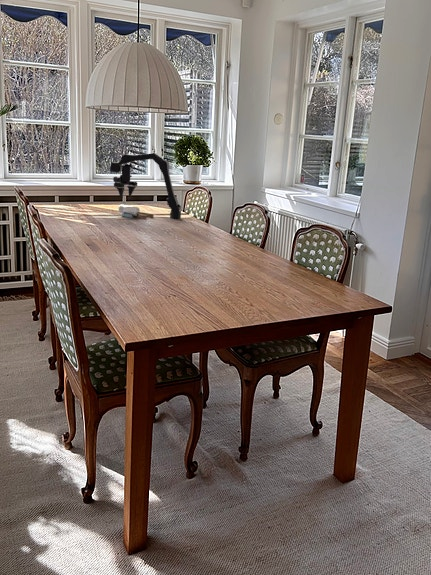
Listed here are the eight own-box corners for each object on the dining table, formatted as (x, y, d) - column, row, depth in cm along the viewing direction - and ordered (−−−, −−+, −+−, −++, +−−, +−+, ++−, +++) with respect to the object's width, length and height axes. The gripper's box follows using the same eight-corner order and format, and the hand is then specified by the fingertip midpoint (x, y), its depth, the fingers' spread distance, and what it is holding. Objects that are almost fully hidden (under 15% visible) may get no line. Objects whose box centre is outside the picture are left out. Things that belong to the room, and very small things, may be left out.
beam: (153, 218, 353) (153, 214, 352) (145, 220, 345) (145, 215, 344) (127, 213, 363) (127, 209, 362) (118, 215, 355) (118, 210, 354)
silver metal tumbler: (139, 215, 347) (139, 206, 345) (134, 216, 342) (134, 207, 340) (123, 212, 353) (124, 204, 351) (118, 213, 348) (118, 205, 346)
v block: (137, 218, 348) (137, 213, 348) (131, 219, 343) (131, 214, 343) (127, 216, 352) (127, 212, 351) (121, 217, 347) (121, 213, 346)
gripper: (125, 171, 362) (124, 194, 367) (107, 172, 347) (107, 196, 351) (138, 173, 358) (137, 196, 362) (120, 174, 342) (120, 198, 346)
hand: (125, 197), depth 355 cm, fingers open, 9 cm apart
